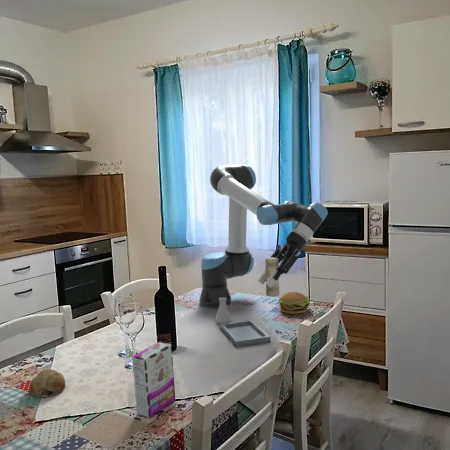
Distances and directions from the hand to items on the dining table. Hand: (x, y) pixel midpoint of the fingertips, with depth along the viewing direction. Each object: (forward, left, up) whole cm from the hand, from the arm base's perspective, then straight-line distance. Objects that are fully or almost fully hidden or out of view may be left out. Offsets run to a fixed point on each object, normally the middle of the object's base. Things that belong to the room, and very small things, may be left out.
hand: (264, 283), depth 178 cm
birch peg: (-1, +4, -5) cm, 6 cm away
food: (-21, +22, -20) cm, 36 cm away
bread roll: (+19, -78, -20) cm, 83 cm away
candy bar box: (+41, -48, -20) cm, 67 cm away
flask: (-19, -11, -20) cm, 29 cm away
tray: (-1, -8, -19) cm, 21 cm away
